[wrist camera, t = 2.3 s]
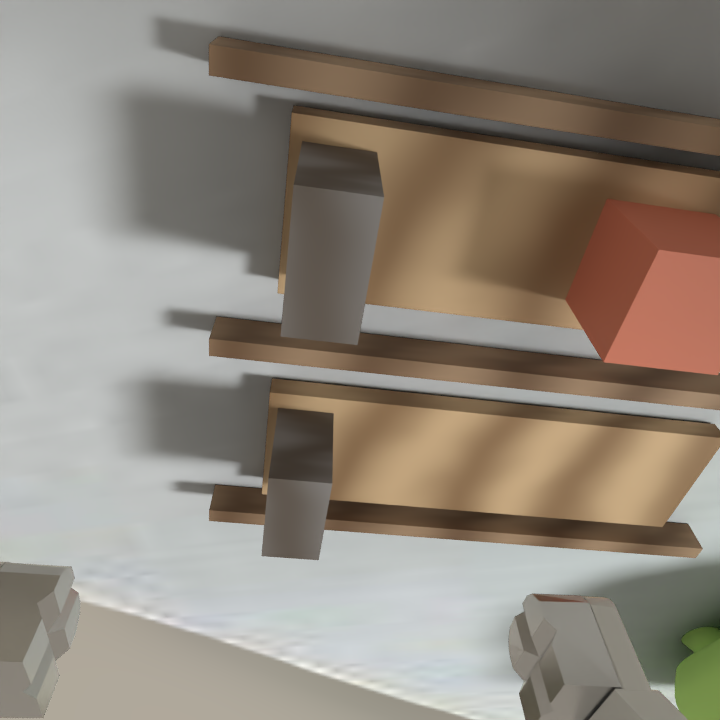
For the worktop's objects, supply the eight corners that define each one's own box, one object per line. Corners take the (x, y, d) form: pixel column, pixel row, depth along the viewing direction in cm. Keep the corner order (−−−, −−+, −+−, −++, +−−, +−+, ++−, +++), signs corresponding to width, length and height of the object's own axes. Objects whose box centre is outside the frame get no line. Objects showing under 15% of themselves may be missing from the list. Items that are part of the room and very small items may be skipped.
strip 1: (872, 195, 26) (998, 256, 21) (772, 341, 31) (856, 419, 26) (293, 105, 23) (280, 151, 18) (279, 280, 28) (266, 355, 23)
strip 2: (714, 424, 34) (778, 507, 29) (654, 512, 39) (700, 597, 34) (272, 378, 31) (258, 462, 26) (264, 479, 36) (251, 566, 31)
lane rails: (962, 159, 25) (1004, 174, 24) (681, 533, 40) (695, 558, 39) (218, 36, 22) (209, 44, 20) (215, 495, 37) (209, 520, 35)
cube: (715, 214, 25) (787, 267, 21) (663, 312, 28) (717, 375, 24) (607, 198, 25) (659, 249, 21) (565, 299, 27) (603, 362, 23)
